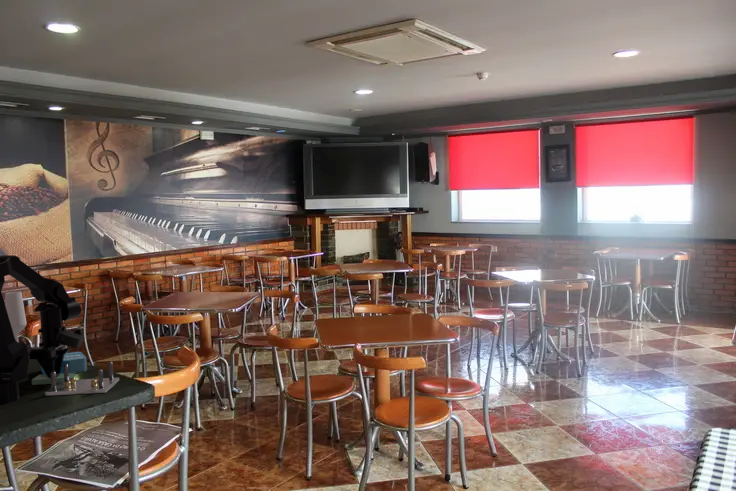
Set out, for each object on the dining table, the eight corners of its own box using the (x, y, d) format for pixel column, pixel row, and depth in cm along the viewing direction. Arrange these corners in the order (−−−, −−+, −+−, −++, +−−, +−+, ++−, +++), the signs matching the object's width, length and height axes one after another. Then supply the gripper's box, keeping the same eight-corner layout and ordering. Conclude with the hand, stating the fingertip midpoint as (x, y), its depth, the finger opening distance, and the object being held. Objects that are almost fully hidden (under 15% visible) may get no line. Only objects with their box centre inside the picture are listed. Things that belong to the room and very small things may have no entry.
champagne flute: (33, 360, 211) (29, 291, 210) (16, 365, 205) (12, 293, 203) (18, 359, 213) (14, 291, 212) (1, 364, 207) (-3, 293, 205)
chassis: (105, 392, 169) (104, 371, 169) (45, 395, 167) (44, 374, 167) (119, 380, 181) (118, 360, 181) (63, 383, 179) (61, 363, 179)
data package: (80, 351, 202) (87, 357, 192) (81, 364, 203) (87, 371, 193) (39, 356, 196) (44, 363, 186) (40, 370, 196) (45, 378, 186)
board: (67, 386, 180) (67, 376, 180) (32, 387, 179) (31, 378, 179) (74, 381, 186) (74, 371, 186) (40, 382, 185) (39, 373, 185)
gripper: (67, 328, 174) (70, 383, 174) (90, 317, 192) (93, 366, 193) (26, 330, 173) (29, 385, 173) (53, 319, 191) (56, 368, 192)
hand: (54, 375), depth 183 cm, fingers open, 4 cm apart
